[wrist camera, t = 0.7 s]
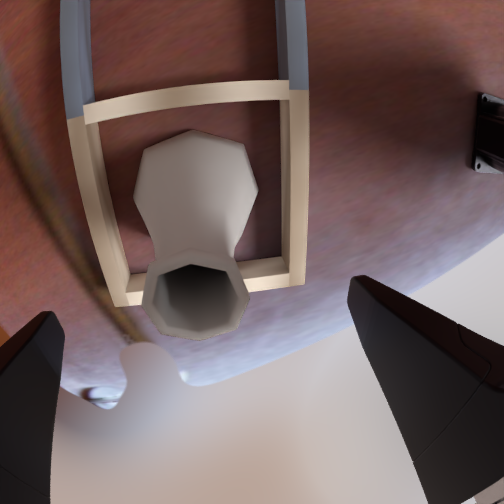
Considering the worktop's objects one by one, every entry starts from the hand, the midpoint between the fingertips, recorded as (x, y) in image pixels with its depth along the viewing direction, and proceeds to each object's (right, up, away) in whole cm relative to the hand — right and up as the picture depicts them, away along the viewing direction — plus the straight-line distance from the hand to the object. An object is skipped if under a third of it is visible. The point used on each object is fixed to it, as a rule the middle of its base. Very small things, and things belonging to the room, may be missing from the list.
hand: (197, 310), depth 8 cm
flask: (-2, +5, +9) cm, 11 cm away
